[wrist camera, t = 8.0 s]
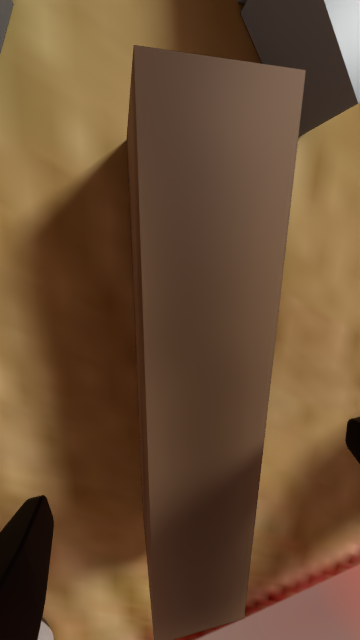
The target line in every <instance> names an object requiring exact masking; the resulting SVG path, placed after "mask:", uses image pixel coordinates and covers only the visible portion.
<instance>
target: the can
mask: <svg viewBox="0 0 360 640" xmlns="http://www.w3.org/2000/svg"><path fill="white" fill-rule="evenodd" d="M38 640H54V639H53V634H52V631H51V630H50V627H49V625H48V623H47V622H46V621H45V620H44V619H43V618H42V621H41V625H40V630H39V635H38Z"/></svg>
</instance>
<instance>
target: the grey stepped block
mask: <svg viewBox="0 0 360 640" xmlns="http://www.w3.org/2000/svg"><path fill="white" fill-rule="evenodd" d="M238 3H246V4H245V5H244V7H243V9H242V11H241V16H242V18H243V20H244V23H245V25H246V27H247V30H248V32H249V34H250V36H251V39H252V41H253V43H254V46H255V48H256V50H257V53H258V55H259V57H260V60H261V62H262V64H267V65H274V66H281V67H287V68H294V69H301V70H306V72H305V81H304V90H303V99H302V108H301V117H300V126H299V135H298V137H299V136H301V135H303V134H305V133H306V132H308V131H310V130H312V129H314V128H315V127H317V126H319V125H321V124H322V123H324V122H326V121H328V120H329V119H331V118H333V117H335V116H337V115H338V114H340V113H342V112H344V111H345V110H347V109H349V108H351V107H353V106H354V105H356V104H358V103H359V102H360V0H238ZM13 4H14V3H13V1H12V0H0V52H1V49H2V45H3V41H4V37H5V34H6V30H7V26H8V23H9V19H10V15H11V11H12V8H13Z"/></svg>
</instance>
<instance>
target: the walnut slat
mask: <svg viewBox="0 0 360 640" xmlns="http://www.w3.org/2000/svg"><path fill="white" fill-rule="evenodd" d="M305 72H306V70H301V69H294V68H287V67H281V66H274V65H267V64H260V63H253V62H246V61H240V60H233V59H226V58H219V57H212V56H206V55H199V54H192V53H185V52H178V51H171V50H165V49H158V48H151V47H144V46H137V45H134V48H133V61H132V74H131V88H130V101H129V114H128V127H127V161H128V184H129V206H130V229H131V252H132V274H133V297H134V320H135V342H136V365H137V388H138V410H139V433H140V456H141V478H142V501H143V519H144V530H145V542H146V553H147V565H148V576H149V588H150V599H151V611H152V622H153V634H154V640H173V639H177V638H180V637H183V636H187V635H190V634H193V633H197V632H200V631H204V630H207V629H210V628H214V627H217V626H220V625H224V624H227V623H231V622H234V621H237V620H241V619H244V615H245V606H246V597H247V588H248V579H249V570H250V562H251V553H252V544H253V535H254V526H255V517H256V508H257V499H258V490H259V481H260V473H261V464H262V455H263V446H264V437H265V428H266V419H267V410H268V401H269V393H270V384H271V375H272V366H273V357H274V348H275V339H276V330H277V321H278V312H279V304H280V295H281V286H282V277H283V268H284V259H285V250H286V241H287V232H288V224H289V215H290V206H291V197H292V188H293V179H294V170H295V161H296V152H297V143H298V135H299V126H300V117H301V108H302V99H303V90H304V81H305Z"/></svg>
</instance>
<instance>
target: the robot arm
mask: <svg viewBox="0 0 360 640" xmlns="http://www.w3.org/2000/svg"><path fill="white" fill-rule="evenodd" d="M345 441H346V445H347V447H348V449H349V450H350V451H351V453H352V454H353V456H354V457H355V458H356V460H357V461H358V462H359V464H360V417H357V418H352V419H350V420H349V421H348V423H347V430H346V440H345ZM53 528H54V521H53V516H52V513H51V510H50V507H49V504H48V501H47V498H46V497H45V496H44V495H41V496H37V497H33V498H30V499H28V500H26V501H25V502H24V504H23V505H22V506H21V507H20V509H19V510H18V511H17V512H16V513H15V515H14V516H13V517H12V518H11V520H10V521H9V522H8V523H7V525H6V526H5V527H4V528H3V529H2V531H1V532H0V640H38V635H39V630H40V625H41V621H42V616H43V610H44V604H45V598H46V590H47V581H48V572H49V564H50V555H51V546H52V537H53Z"/></svg>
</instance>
